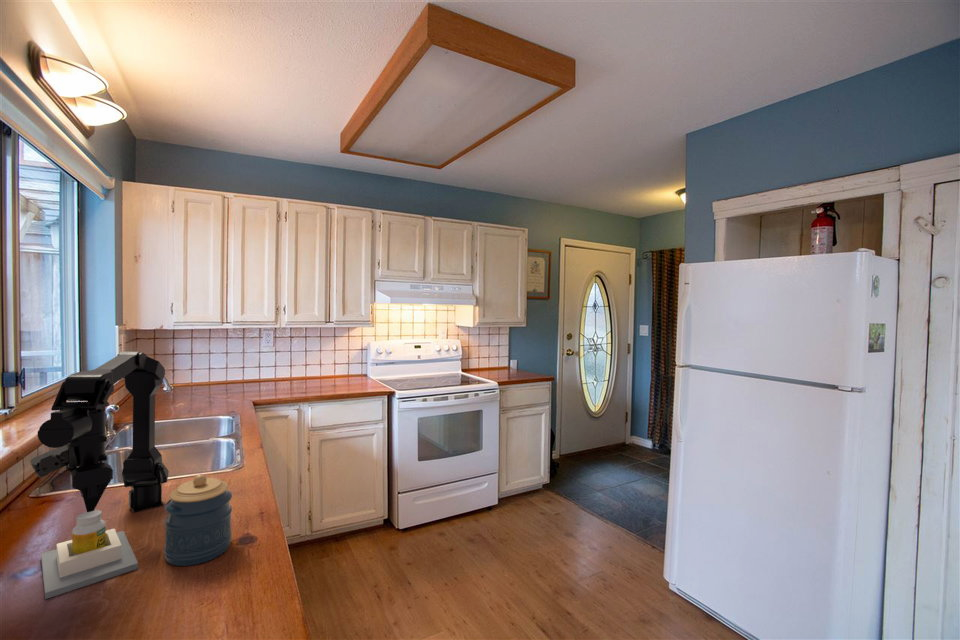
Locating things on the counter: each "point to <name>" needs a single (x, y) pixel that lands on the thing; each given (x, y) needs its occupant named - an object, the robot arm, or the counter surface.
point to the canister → (197, 521)
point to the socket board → (86, 564)
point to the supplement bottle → (88, 532)
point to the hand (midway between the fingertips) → (87, 503)
